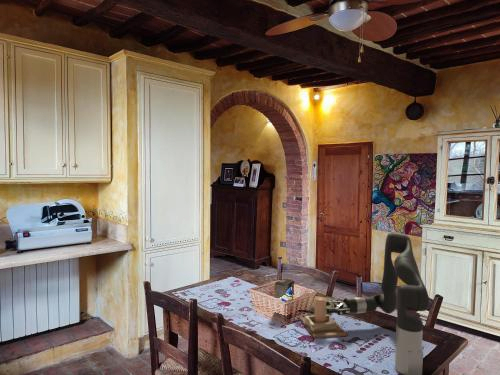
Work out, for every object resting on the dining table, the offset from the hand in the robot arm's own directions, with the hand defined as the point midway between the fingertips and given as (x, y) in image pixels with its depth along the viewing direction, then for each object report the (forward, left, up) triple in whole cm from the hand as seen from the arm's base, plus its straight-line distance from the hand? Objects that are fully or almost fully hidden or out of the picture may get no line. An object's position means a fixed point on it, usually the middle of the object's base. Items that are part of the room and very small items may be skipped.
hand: (323, 307), depth 178 cm
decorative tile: (+26, -5, -11) cm, 29 cm away
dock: (0, 0, -10) cm, 10 cm away
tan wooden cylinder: (0, +2, -9) cm, 9 cm away
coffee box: (+22, +13, -10) cm, 28 cm away
